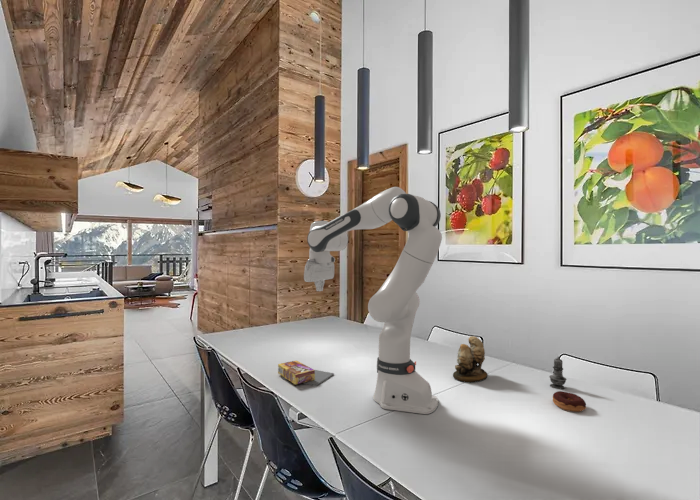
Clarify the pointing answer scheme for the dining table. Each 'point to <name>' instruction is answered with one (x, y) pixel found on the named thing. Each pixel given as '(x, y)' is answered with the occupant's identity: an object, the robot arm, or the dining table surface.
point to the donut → (569, 401)
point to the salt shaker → (557, 375)
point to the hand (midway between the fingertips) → (319, 291)
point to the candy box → (296, 372)
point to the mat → (318, 377)
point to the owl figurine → (470, 362)
